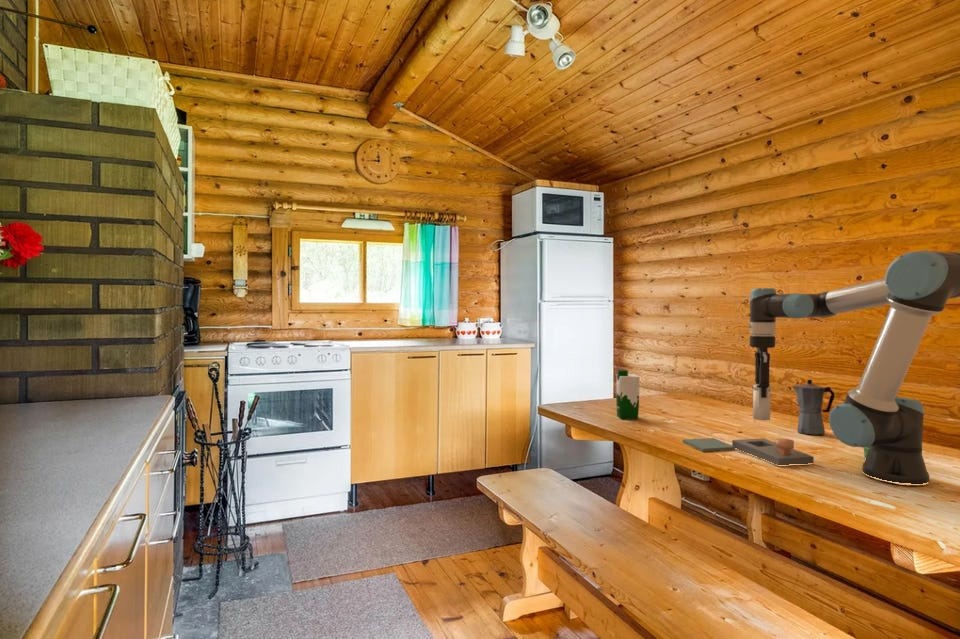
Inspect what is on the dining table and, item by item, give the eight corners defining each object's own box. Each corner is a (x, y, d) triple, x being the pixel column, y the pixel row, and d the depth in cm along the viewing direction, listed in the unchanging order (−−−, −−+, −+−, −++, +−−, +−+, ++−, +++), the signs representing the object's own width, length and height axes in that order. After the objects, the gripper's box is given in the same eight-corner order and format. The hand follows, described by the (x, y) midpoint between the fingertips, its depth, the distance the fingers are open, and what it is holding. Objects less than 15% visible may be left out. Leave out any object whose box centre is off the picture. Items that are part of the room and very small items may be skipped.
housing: (813, 464, 169) (813, 456, 169) (778, 466, 167) (778, 458, 167) (763, 445, 190) (763, 438, 190) (732, 447, 188) (732, 440, 188)
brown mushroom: (797, 461, 171) (797, 442, 170) (782, 462, 170) (783, 442, 169) (785, 456, 176) (785, 438, 175) (771, 457, 175) (771, 438, 174)
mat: (735, 449, 185) (735, 446, 185) (702, 451, 183) (702, 448, 183) (713, 440, 197) (713, 437, 197) (682, 442, 195) (682, 439, 195)
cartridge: (768, 417, 184) (769, 384, 184) (771, 420, 179) (771, 386, 179) (752, 416, 186) (752, 384, 186) (754, 419, 181) (754, 386, 181)
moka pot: (797, 427, 217) (798, 376, 216) (840, 435, 204) (842, 381, 203) (784, 430, 212) (785, 378, 211) (828, 439, 199) (829, 383, 198)
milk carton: (614, 415, 239) (614, 369, 238) (635, 415, 239) (636, 369, 238) (619, 419, 230) (619, 371, 229) (641, 419, 230) (641, 371, 229)
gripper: (746, 333, 192) (745, 400, 192) (753, 336, 175) (752, 410, 175) (770, 333, 189) (769, 401, 190) (780, 337, 172) (779, 411, 173)
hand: (761, 405), depth 183 cm, fingers closed on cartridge, 5 cm apart
